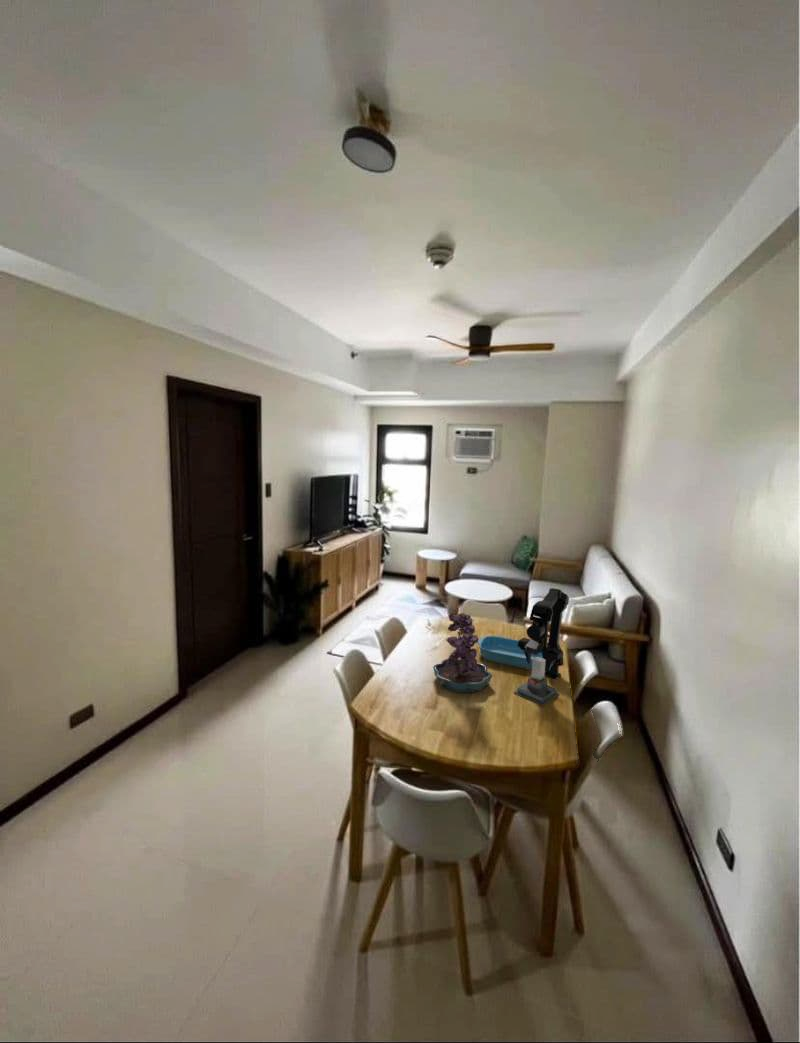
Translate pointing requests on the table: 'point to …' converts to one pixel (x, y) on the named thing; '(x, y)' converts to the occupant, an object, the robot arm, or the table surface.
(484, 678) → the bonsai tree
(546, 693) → the jack stand base
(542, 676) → the column
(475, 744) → the table surface
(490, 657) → the casserole dish
